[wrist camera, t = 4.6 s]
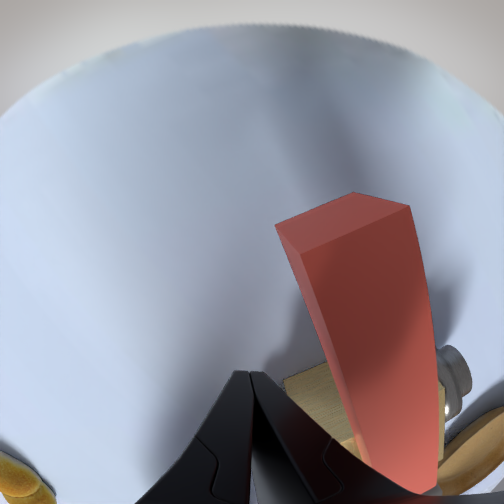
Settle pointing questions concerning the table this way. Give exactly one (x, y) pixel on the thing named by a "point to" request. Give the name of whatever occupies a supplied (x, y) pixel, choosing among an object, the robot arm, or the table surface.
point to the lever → (373, 328)
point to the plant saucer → (472, 454)
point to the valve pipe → (333, 412)
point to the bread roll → (22, 483)
